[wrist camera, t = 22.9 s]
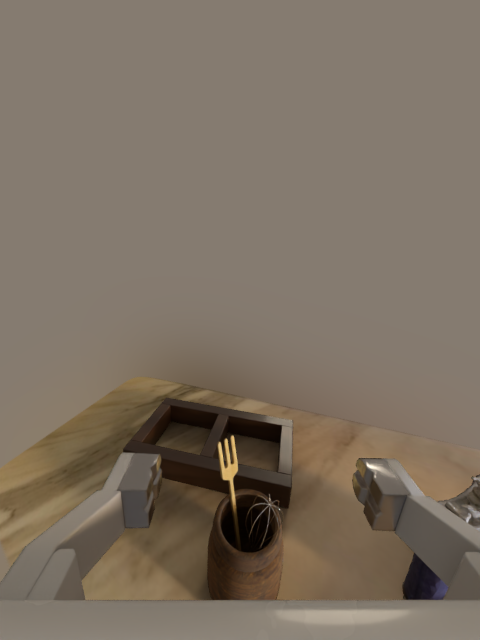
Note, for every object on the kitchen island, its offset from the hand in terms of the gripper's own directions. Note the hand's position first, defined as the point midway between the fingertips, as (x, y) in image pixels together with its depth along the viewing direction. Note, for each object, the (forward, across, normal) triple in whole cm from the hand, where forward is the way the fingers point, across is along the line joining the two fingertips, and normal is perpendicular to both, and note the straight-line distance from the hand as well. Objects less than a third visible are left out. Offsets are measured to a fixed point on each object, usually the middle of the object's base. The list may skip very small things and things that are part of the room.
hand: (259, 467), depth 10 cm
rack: (+18, +3, +18) cm, 26 cm away
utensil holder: (+6, 0, +18) cm, 19 cm away
